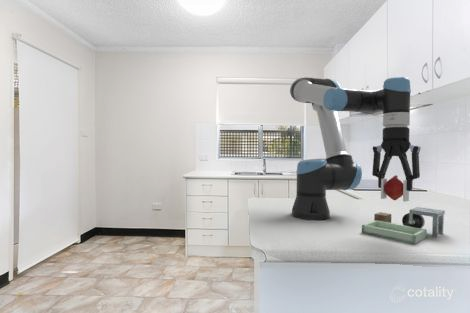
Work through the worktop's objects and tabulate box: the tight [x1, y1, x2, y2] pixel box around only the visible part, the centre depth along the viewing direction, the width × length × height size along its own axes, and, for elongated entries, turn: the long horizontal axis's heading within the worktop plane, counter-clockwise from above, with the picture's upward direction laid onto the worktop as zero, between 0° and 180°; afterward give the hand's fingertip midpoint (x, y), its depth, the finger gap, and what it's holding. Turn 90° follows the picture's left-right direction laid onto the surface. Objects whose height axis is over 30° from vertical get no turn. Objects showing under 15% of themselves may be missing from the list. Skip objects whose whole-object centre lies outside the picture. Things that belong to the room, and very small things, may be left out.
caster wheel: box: [401, 206, 446, 238], centre depth 99 cm, size 11×8×8 cm
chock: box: [373, 211, 392, 223], centre depth 108 cm, size 4×5×4 cm
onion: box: [384, 175, 403, 201], centre depth 94 cm, size 6×6×8 cm
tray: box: [361, 220, 428, 245], centre depth 94 cm, size 16×11×2 cm
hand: (394, 199), depth 94 cm, fingers closed on onion, 6 cm apart
